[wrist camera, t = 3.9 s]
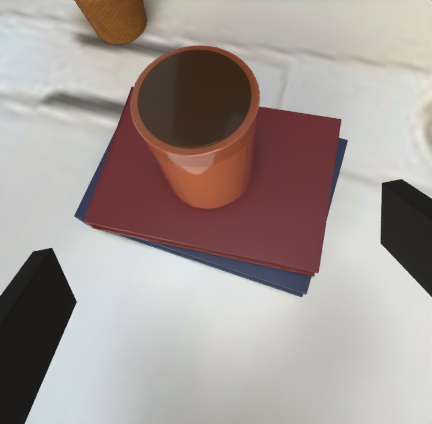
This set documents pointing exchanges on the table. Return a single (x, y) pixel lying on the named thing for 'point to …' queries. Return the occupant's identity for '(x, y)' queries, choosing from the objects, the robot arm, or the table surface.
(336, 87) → the table surface
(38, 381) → the robot arm
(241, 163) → the terracotta pot
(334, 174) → the navy book
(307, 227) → the burgundy book
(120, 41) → the disposable coffee cup
